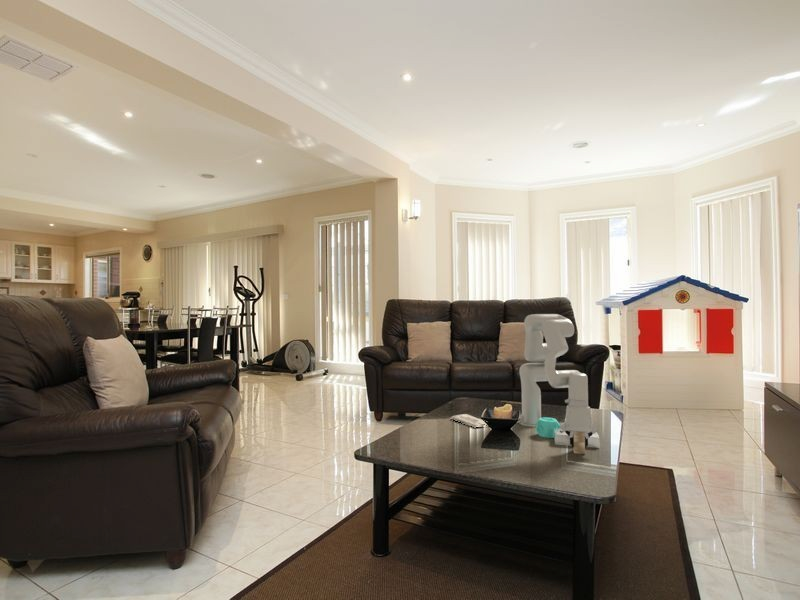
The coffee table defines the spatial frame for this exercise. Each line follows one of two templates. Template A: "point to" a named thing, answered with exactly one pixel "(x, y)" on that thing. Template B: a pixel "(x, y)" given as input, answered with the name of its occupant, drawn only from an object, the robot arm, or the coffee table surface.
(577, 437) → the beech peg
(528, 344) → the robot arm
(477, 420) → the newspaper
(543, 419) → the decorative dice
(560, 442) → the rail block
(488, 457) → the coffee table surface
